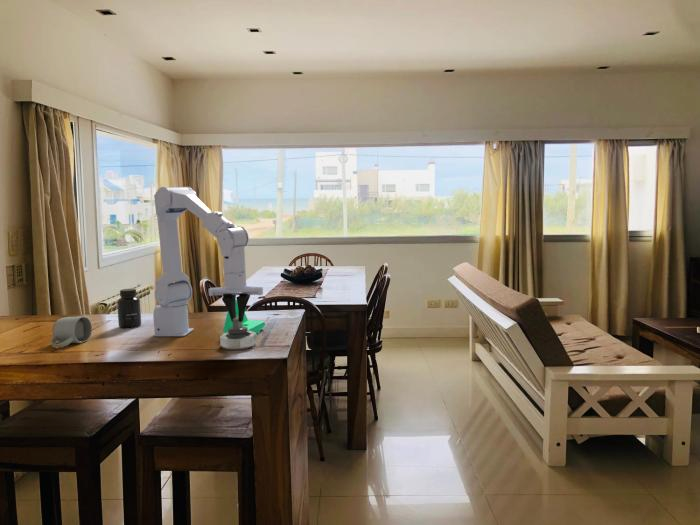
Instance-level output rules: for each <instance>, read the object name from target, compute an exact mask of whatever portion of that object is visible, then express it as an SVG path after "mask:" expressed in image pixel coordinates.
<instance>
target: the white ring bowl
mask: <svg viewBox="0 0 700 525" xmlns="http://www.w3.org/2000/svg"><path fill="white" fill-rule="evenodd" d="M219 339H220V340H219V341H220V342H219V343H220V346H221V347H222V349H224V350H227V351H242V350H247V349H252V348H253V347H255V346H256V343H257V334H256V333H255V332H252V331H248V333H246V334H242V335H230V334H228V332H227V333H222V335H220V336H219Z"/></svg>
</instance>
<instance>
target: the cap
mask: <svg viewBox="0 0 700 525" xmlns="http://www.w3.org/2000/svg"><path fill="white" fill-rule="evenodd" d="M232 320H233V327H231V328H229V329H228V334H230V335H242V334H246V333H248V328H247V327H244V326H243V325H242V322H239V316H236V317H235V318H234V319H232Z"/></svg>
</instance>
